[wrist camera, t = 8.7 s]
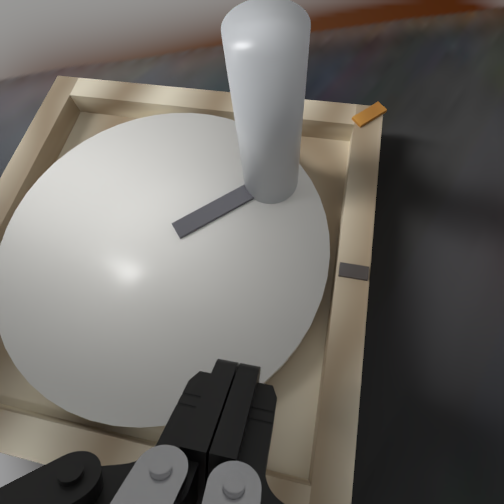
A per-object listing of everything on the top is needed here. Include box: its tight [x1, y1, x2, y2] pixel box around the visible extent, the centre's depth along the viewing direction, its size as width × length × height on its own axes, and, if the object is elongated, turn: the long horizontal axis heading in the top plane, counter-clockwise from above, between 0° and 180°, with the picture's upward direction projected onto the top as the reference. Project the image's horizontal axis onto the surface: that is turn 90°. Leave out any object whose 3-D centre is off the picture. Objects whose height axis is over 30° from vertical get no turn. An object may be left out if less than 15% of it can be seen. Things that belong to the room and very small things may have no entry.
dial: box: [0, 0, 330, 428], centre depth 16 cm, size 18×18×10 cm
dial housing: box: [0, 76, 387, 504], centre depth 20 cm, size 22×22×3 cm
